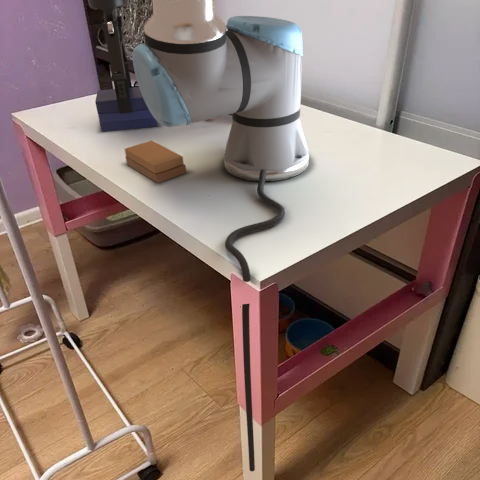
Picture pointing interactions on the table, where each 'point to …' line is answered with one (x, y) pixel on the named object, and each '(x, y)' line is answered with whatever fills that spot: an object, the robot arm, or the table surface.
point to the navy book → (109, 104)
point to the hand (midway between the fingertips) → (126, 103)
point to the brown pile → (155, 161)
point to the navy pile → (127, 120)
